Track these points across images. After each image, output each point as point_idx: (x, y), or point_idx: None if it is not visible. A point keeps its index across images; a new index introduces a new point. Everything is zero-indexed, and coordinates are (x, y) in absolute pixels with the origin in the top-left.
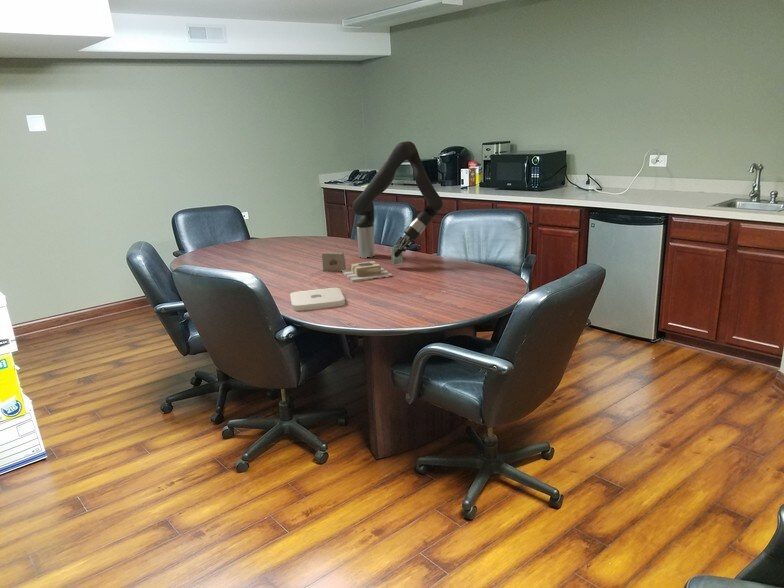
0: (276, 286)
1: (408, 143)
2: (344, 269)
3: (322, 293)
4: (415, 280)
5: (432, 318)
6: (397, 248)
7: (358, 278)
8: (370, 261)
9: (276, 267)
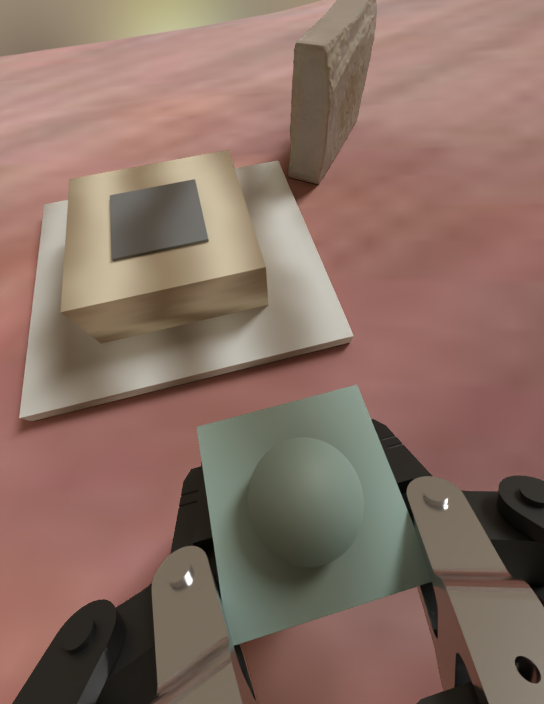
0: (145, 39)
1: None
2: (298, 171)
3: None
4: None
5: None
6: (211, 515)
7: (57, 227)
8: (251, 247)
9: (417, 15)
